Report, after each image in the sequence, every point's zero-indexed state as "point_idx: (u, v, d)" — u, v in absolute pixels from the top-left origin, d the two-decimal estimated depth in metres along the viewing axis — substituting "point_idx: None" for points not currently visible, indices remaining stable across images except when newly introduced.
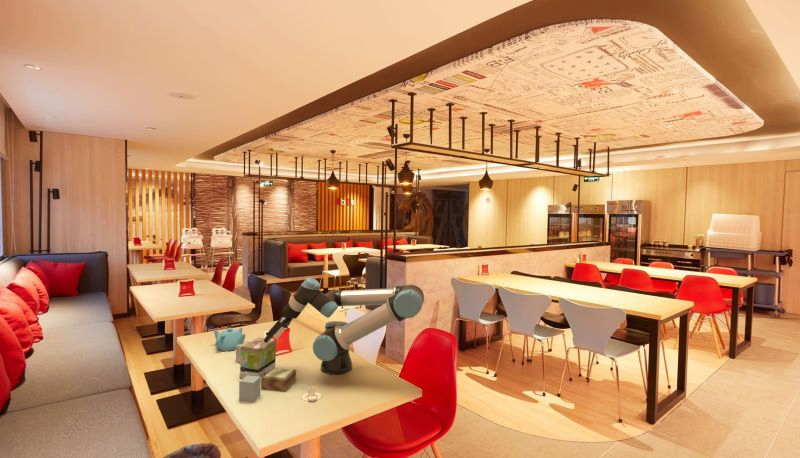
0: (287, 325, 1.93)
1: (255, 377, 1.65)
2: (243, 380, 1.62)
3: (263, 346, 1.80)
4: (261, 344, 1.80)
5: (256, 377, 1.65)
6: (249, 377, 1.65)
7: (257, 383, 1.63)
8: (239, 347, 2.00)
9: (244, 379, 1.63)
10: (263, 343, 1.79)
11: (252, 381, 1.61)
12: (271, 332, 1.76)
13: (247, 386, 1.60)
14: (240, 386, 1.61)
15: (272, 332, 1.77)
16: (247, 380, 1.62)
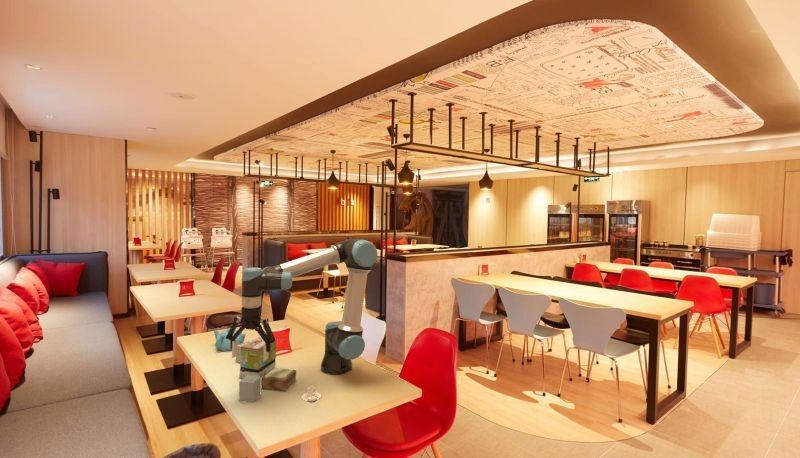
0: None
1: (255, 377, 1.65)
2: (243, 380, 1.62)
3: (267, 357, 1.62)
4: (265, 357, 1.61)
5: (256, 377, 1.65)
6: (249, 377, 1.65)
7: (257, 383, 1.63)
8: (239, 347, 2.00)
9: (244, 379, 1.63)
10: (266, 355, 1.62)
11: (252, 381, 1.61)
12: (272, 336, 1.61)
13: (247, 386, 1.60)
14: (240, 386, 1.61)
15: (272, 335, 1.62)
16: (247, 380, 1.62)
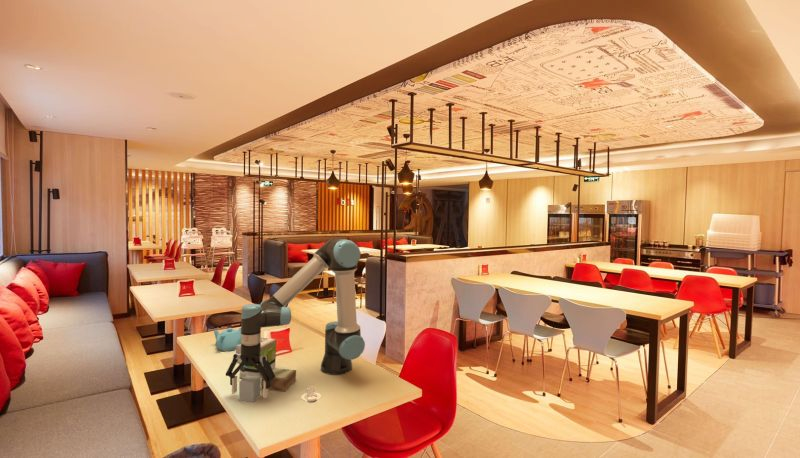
0: None
1: (255, 377, 1.65)
2: (243, 380, 1.62)
3: (267, 393, 1.63)
4: (265, 394, 1.62)
5: (256, 377, 1.65)
6: (249, 377, 1.65)
7: (257, 383, 1.63)
8: (239, 347, 2.00)
9: (244, 379, 1.63)
10: (266, 391, 1.62)
11: (252, 381, 1.61)
12: (272, 373, 1.62)
13: (247, 386, 1.60)
14: (240, 386, 1.61)
15: (272, 372, 1.62)
16: (247, 380, 1.62)
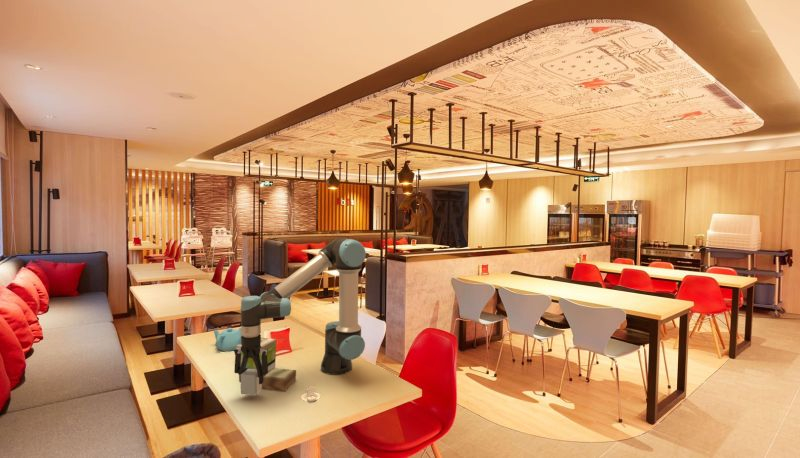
0: None
1: (256, 370, 1.65)
2: (244, 373, 1.62)
3: (260, 388, 1.64)
4: (259, 389, 1.63)
5: None
6: (250, 370, 1.65)
7: None
8: (239, 347, 2.00)
9: (245, 372, 1.63)
10: (259, 386, 1.63)
11: (253, 374, 1.61)
12: (266, 368, 1.62)
13: (248, 379, 1.61)
14: (241, 379, 1.61)
15: (266, 367, 1.63)
16: (249, 373, 1.62)
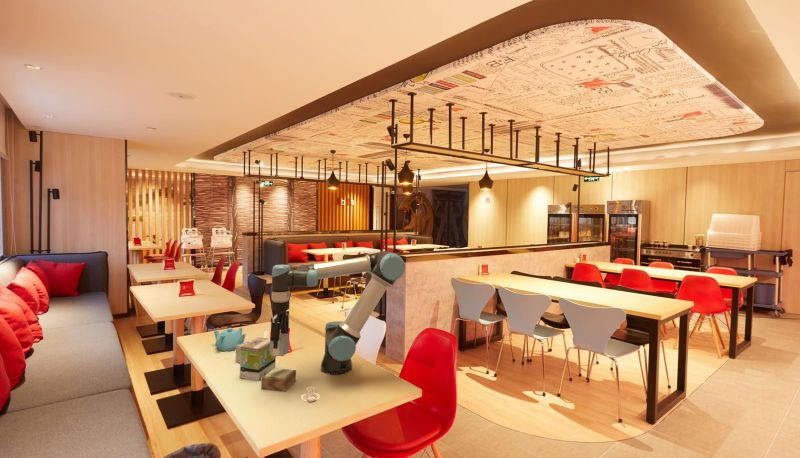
0: None
1: None
2: (281, 337, 1.74)
3: None
4: None
5: None
6: None
7: None
8: (239, 347, 2.00)
9: (279, 336, 1.74)
10: None
11: (285, 334, 1.77)
12: None
13: (286, 339, 1.76)
14: (283, 342, 1.73)
15: None
16: (281, 335, 1.75)
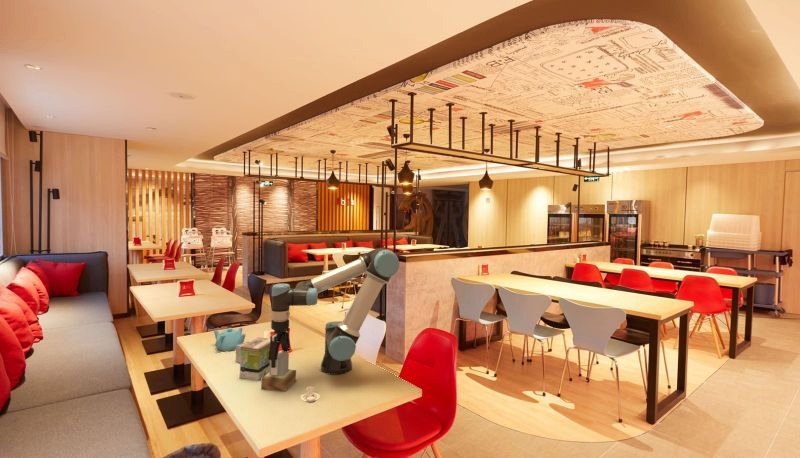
0: None
1: None
2: (281, 356, 1.74)
3: None
4: None
5: None
6: None
7: None
8: (239, 347, 2.00)
9: (279, 356, 1.74)
10: None
11: (285, 353, 1.78)
12: None
13: (286, 358, 1.76)
14: (283, 362, 1.73)
15: None
16: (281, 355, 1.76)
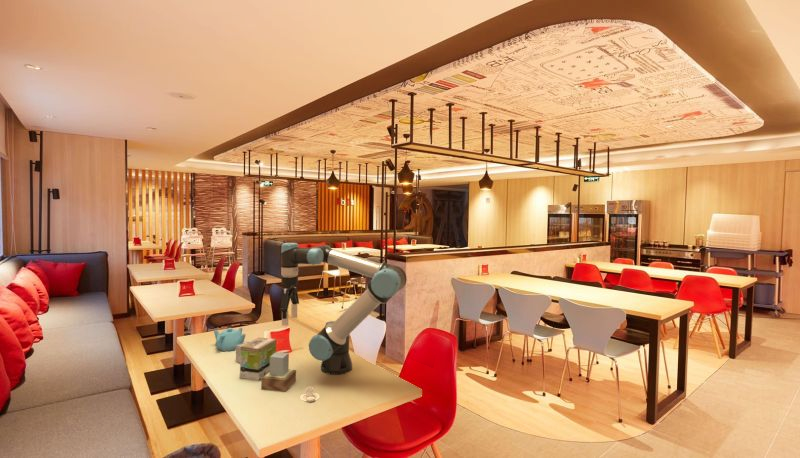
0: None
1: (276, 353, 1.78)
2: (281, 356, 1.74)
3: None
4: None
5: (276, 353, 1.78)
6: (275, 355, 1.75)
7: None
8: (239, 347, 2.00)
9: (279, 356, 1.74)
10: None
11: (285, 353, 1.78)
12: None
13: (286, 358, 1.76)
14: (283, 362, 1.73)
15: None
16: (281, 355, 1.76)
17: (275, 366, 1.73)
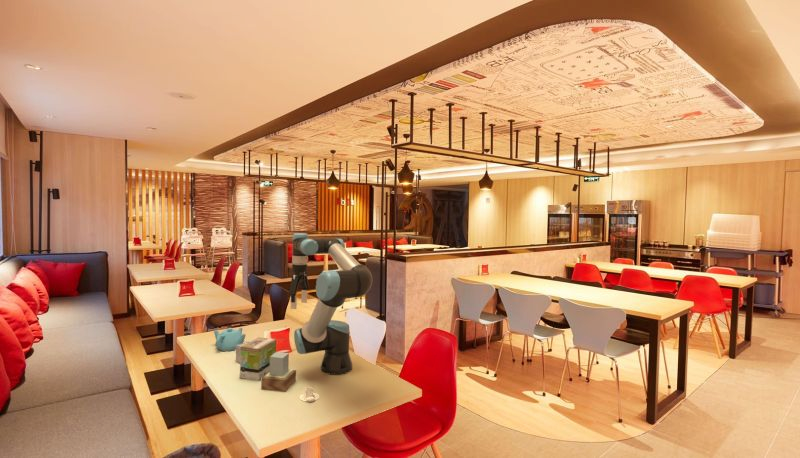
0: None
1: (276, 353, 1.78)
2: (281, 356, 1.74)
3: None
4: None
5: (276, 353, 1.78)
6: (275, 355, 1.75)
7: None
8: (239, 347, 2.00)
9: (279, 356, 1.74)
10: None
11: (285, 353, 1.78)
12: None
13: (286, 358, 1.76)
14: (283, 362, 1.73)
15: None
16: (281, 355, 1.76)
17: (275, 366, 1.73)
